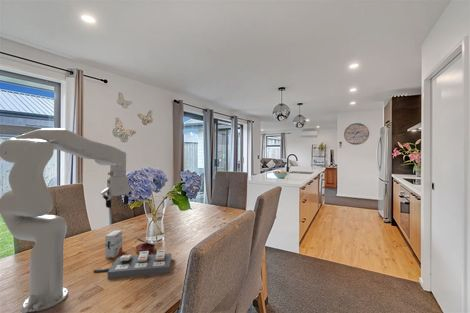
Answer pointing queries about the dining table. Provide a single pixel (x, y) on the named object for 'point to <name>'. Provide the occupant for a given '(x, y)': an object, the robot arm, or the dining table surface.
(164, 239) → the dining table surface
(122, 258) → the rocker
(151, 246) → the dark red apple
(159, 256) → the rocker
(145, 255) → the rocker
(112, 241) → the ink box
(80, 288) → the dining table surface
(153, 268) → the power strip
